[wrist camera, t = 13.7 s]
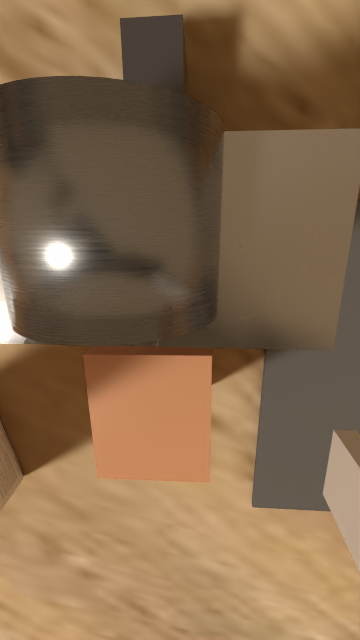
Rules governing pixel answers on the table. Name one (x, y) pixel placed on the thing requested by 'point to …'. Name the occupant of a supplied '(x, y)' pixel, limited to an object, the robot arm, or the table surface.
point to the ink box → (8, 469)
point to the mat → (309, 406)
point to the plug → (141, 361)
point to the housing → (167, 221)
